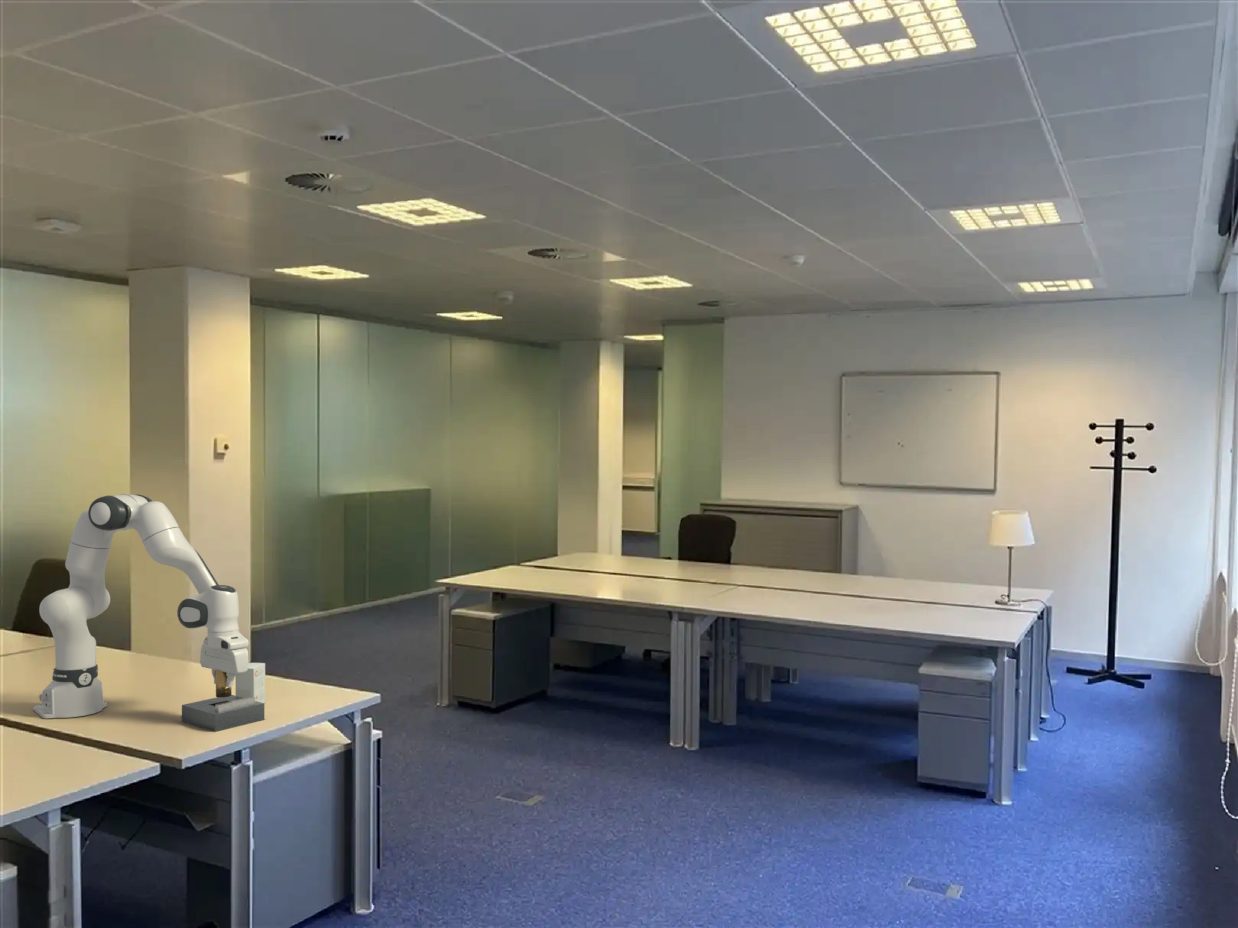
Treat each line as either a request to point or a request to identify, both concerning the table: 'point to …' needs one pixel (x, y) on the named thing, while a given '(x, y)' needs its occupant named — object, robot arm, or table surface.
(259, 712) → the jig
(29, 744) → the table surface
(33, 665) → the table surface
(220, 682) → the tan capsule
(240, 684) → the small box
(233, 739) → the table surface
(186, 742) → the table surface
